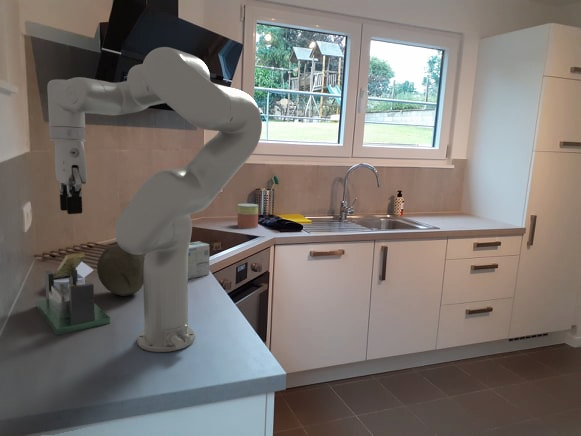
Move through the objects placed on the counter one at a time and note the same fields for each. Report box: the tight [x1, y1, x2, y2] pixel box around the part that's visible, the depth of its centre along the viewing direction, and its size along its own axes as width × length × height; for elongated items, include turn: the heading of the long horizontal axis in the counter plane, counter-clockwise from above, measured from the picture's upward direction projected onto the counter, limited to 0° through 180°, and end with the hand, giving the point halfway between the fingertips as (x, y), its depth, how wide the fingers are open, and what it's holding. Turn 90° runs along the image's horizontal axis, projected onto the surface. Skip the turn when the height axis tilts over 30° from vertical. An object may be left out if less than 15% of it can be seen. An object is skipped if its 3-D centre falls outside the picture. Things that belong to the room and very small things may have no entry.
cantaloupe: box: [96, 243, 145, 297], centre depth 130 cm, size 14×14×15 cm
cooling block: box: [35, 269, 111, 336], centre depth 114 cm, size 22×12×10 cm, turn 40°
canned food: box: [236, 203, 259, 230], centre depth 243 cm, size 11×11×12 cm
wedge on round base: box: [54, 260, 94, 290], centre depth 136 cm, size 9×7×13 cm
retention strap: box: [53, 252, 86, 280], centre depth 114 cm, size 19×4×2 cm
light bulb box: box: [188, 240, 210, 280], centre depth 151 cm, size 11×7×11 cm, turn 134°
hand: (71, 211), depth 107 cm, fingers open, 5 cm apart
